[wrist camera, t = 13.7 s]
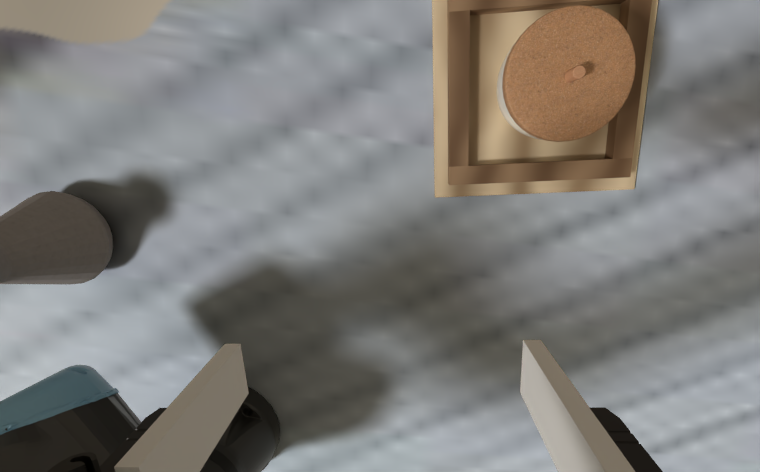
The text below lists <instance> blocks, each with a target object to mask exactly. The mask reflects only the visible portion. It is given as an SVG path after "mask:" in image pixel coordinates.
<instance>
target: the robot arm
mask: <svg viewBox="0 0 760 472" xmlns="http://www.w3.org/2000/svg"><path fill="white" fill-rule="evenodd" d="M118 392H119V391H118V390H117V389H116V388H115V389H114V388H112V386H111V385H110V384H109V383H108V382H107V381H106V380H105V379H104V378H103V377H102V376H101V375H100V374H99V373H98V372H97V371H96V370H95V369H93V368H92V367H90V366H86V365H75V366H71V367H68V368H65V369H63V370H61V371H59V372H57V373H55V374H53V375H51V376H49V377H47V378H45V379H43V380H41V381H40V382H38V383H36V384H34V385H32V386H30V387H28V388H26V389H24V390H22V391H20V392H18V393H16V394H14V395H12V396H10V397H8V398H6V399H4V400H2V401H0V472H261V471H262V470H263V469H264V468H265V467H266V466H267V465H268V463H269V462H270V460H271V459H272V457H273V454H274V452H275V450H276V447H277V445H278V442H279V437H280V426H279V422H278V418H277V416H276V414H275V412H274V410H273V408H272V407H271V406H270V404H269V403H268V402H267V401H266V400H265V399H264V398H263V397H262V396H261V395H259V394H258V393H257V392H255V391H254V390H252V389H250V388H248V386H247V380H246V374H245V368H244V362H243V356H242V350H241V344H224V345H223V346H222V348H221V349H220V350H219V351H218V352H217V353H216V354H215V355H214V356H213V358H212V359H211V360H210V361H209V362H208V363H207V364H206V365H205V366H204V368H203V369H202V370H201V371H200V372H199V373H198V374H197V375H196V376H195V378H194V379H193V380H192V381H191V382H190V383H189V384H188V385H187V386H186V388H185V389H184V390H183V391H182V392H181V393H180V394H179V395H178V396H177V398H176V399H175V400H174V401H173V402H172V403H171V404H170V405H169V406H168V408H159V409H158V410H156V411H155V412H154V413H152V414H151V415H149V416H148V417H146V418H145V419H144V420H143V421H142V422H141V421H140V420H139V419H138V417H137V416H136V415H135V414H134V413H133V411H132V410H131V409H130V408H129V407H128V405H127V404H126V403H125V402H124V400H123V399H122V398H121V397H120V395H119V394H118ZM520 393H521V395H522V397H523V400H524V402H525V404H526V406H527V408H528V410H529V412H530V414H531V416H532V418H533V420H534V422H535V425H536V427H537V429H538V431H539V433H540V435H541V437H542V439H543V441H544V443H545V445H546V447H547V449H548V452H549V454H550V456H551V458H552V460H553V462H554V464H555V466H556V468H557V470H558V472H662V470H661V469H660V468H659V467H658V465H657V464H656V463H655V462H654V460H653V459H652V458H651V457H650V455H649V454H648V453H647V452H646V450H645V449H644V448H643V447H642V445H641V444H639V442H638V440H637V439H636V438H635V437H634V435H633V434H631V433H630V430H629V429H628V428H627V427H626V425H625V424H624V423H623V422H622V420H621V419H620V418H619V417H617V416H616V415H614V414H613V413H612V412H610V411H609V410H608V409H606V408H589V406H588V405H587V404H586V402H585V401H584V399H583V398H582V397H581V395H580V394H579V392H578V391H577V390H576V388H575V387H574V386H573V384H572V383H571V381H570V380H569V379H568V377H567V376H566V374H565V373H564V372H563V370H562V369H561V367H560V366H559V365H558V363H557V362H556V360H555V359H554V358H553V356H552V355H551V354H550V352H549V351H548V349H547V348H546V347H545V345H544V344H543V342H542V341H541V340H523V352H522V370H521V388H520Z"/></svg>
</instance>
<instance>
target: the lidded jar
mask: <svg viewBox="0 0 760 472" xmlns="http://www.w3.org/2000/svg"><path fill="white" fill-rule="evenodd" d="M635 67H636V64H635V52H634V48H633V44H632V41H631V39H630V36H629V34H628V33H627V31H626V29H625V28H624V26H623V25H622V24H621V23H620V22H619V21H618V20H617V19H616V18H615V17H613V16H612V15H611V14H609V13H607V12H605V11H603V10H601V9H599V8H595V7H592V6H584V5H574V6H567V7H563V8H559V9H556V10H554V11H551V12H549V13H547V14H545V15H544V16H542V17H541V18H539V19H538V20H536V21H535V22H534V23H533V24H532V25H530V26H529V27H528V28H527V29H526V30H525V31H524V32H523V34H522V35H521V36H520V37H519V38H518V40H517V41H516V43H515V44H514V45H513V46H512V48H511V49H510V50H509V52H508V53H507V55H506V57H505V59H504V61H503V63H502V65H501V68H500V71H499V74H498V80H497V89H496V94H497V101H498V105H499V108H500V111H501V113H502V115H503V116H504V118H505V119H506V121H507V122H508V123H509V124H510V125H511V126H512V127H513V128H514V129H515V130H517V131H518V132H520V133H522V134H524V135H526V136H528V137H531V138H535V139H538V140H546V141H554V142H563V141H572V140H577V139H581V138H583V137H586V136H589V135H591V134H592V133H594V132H596V131H598V130H599V129H601V128H602V127H603V126H605V125H606V124H607V123H608V122H609V121H610V120H612V119H613V118H614V117H615V115H616V114H617V113H618V112H619V110H620V109H621V108H622V106H623V104H624V103H625V101H626V99H627V98H628V95H629V93H630V90H631V88H632V84H633V81H634V76H635Z"/></svg>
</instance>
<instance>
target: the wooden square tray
mask: <svg viewBox="0 0 760 472" xmlns="http://www.w3.org/2000/svg"><path fill="white" fill-rule="evenodd" d="M574 5H584V6H592V7H595V8H599V9H601V10H603V11H605V12H607V13H609V14H611V15H612V16H613V17H615V18H616V19H617V20H618V21H619V22H620V23H621V24H622V25H623V26H624V28H625V29H626V31H627V33H628V34H629V36H630V39H631V41H632V44H633V48H634V52H635V64H636V67H635V76H634V81H633V84H632V88H631V90H630V93H629V95H628V98H627V99H626V101H625V103H624V104H623V106H622V108H621V109H620V110H619V112H618V113H617V114H616V115H615V117H614V118H613V119H612V120H610V121H609V122H608V123H607V124H606V125H605V126H603V127H602V128H601V129H599V130H598V131H596V132H594V133H592V134H591V135H589V136H586V137H583V138H581V139H577V140H572V141H563V142H554V141H546V140H538V139H535V138H531V137H528V136H526V135H524V134H522V133H520V132H518V131H517V130H515V129H514V128H513V127H512V126H511V125H510V124H509V123H508V122H507V121H506V119H505V118H504V116H503V115H502V113H501V111H500V108H499V105H498V101H497V94H496V89H497V80H498V74H499V71H500V68H501V65H502V63H503V61H504V59H505V57H506V55H507V53H508V52H509V50H510V49H511V48H512V46H513V45H514V44H515V43H516V41H517V40H518V38H519V37H520V36H521V35H522V34H523V32H524V31H525V30H526V29H527V28H528V27H529V26H530V25H532V24H533V23H534V22H535V21H536V20H538V19H539V18H541V17H542V16H544V15H545V14H547V13H549V12H551V11H554V10H556V9H559V8H563V7H567V6H574ZM657 6H658V0H432V21H433V100H434V179H435V197H458V196H481V195H505V194H529V193H553V192H577V191H601V190H625V189H634V187H635V179H636V171H637V164H638V156H639V148H640V140H641V132H642V124H643V116H644V108H645V101H646V93H647V85H648V77H649V69H650V61H651V53H652V45H653V37H654V30H655V22H656V14H657Z"/></svg>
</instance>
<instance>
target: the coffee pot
mask: <svg viewBox="0 0 760 472" xmlns="http://www.w3.org/2000/svg"><path fill="white" fill-rule="evenodd" d="M112 251H113V239H112V233H111V230H110V226H109V225H108V223H107V221H106V220H105V218H104V217H103V216H102V215H101V214H100V213H99V212H98V211H97V209H96V208H95V207H93V206H92V205H91V204H89V203H88V202H86V201H85V200H83V199H81V198H78V197H76V196H73V195H70V194H67V193H61V192H55V191H50V192H42V193H38V194H36V195H34V196H32V197H30V198H28V199H26V200H25V201H23V202H22V203H20V204H19V205H17V206H16V207H14V208H13V209H11V210H10V211H8V212H6V213H5V214H3V215H2V216H0V284H78V283H84V282H87V281H89V280H92V279H94V278H95V277H96V276H98V275H99V274H100V273H101V272H102V271H103V270H104V269H105V267H106V266H107V264H108V262H109V261H110V259H111V256H112Z"/></svg>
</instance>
